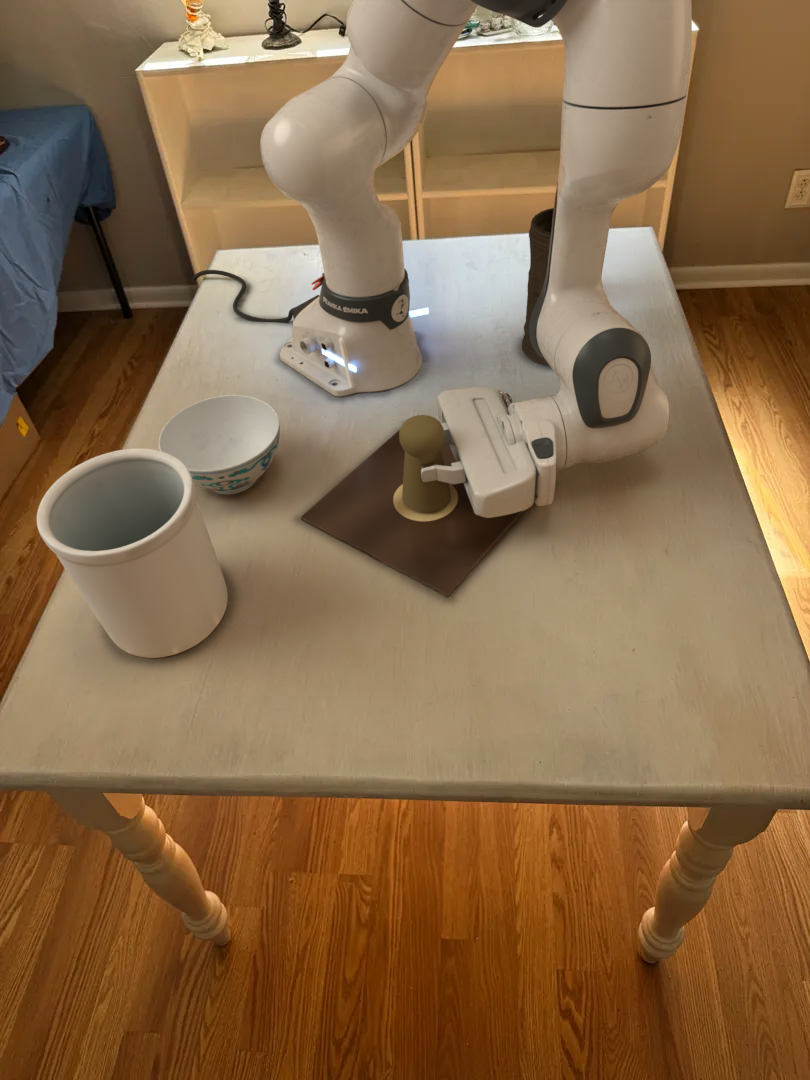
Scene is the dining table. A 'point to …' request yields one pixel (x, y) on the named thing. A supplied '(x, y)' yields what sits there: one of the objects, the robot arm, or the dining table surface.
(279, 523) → the dining table surface
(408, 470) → the olive brown pawn
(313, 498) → the dining table surface
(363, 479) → the mat
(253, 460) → the chinaware
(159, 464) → the utensil holder
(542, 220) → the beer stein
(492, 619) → the dining table surface
